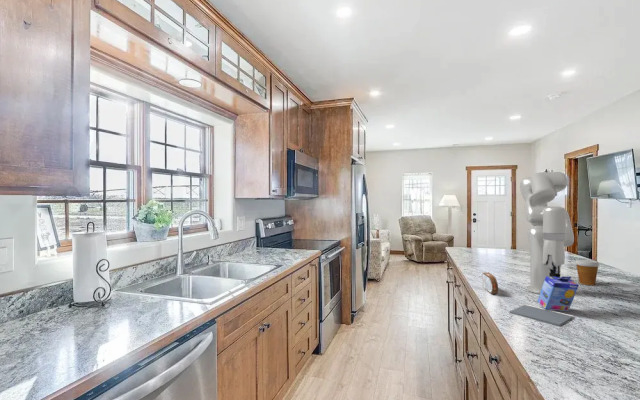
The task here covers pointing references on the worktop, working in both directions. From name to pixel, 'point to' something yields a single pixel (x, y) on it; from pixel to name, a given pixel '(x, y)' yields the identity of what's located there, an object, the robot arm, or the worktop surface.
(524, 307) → the mat
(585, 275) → the disposable coffee cup
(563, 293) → the ink cartridge box
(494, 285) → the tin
